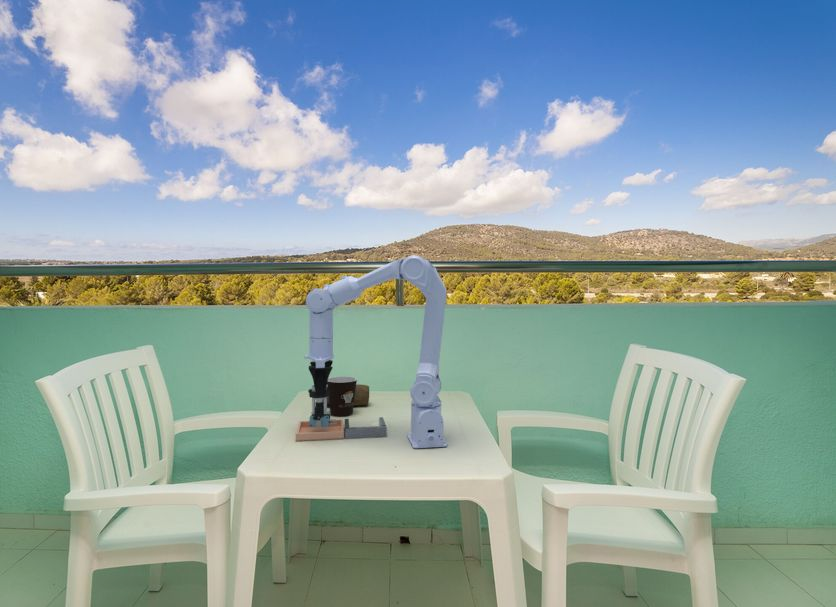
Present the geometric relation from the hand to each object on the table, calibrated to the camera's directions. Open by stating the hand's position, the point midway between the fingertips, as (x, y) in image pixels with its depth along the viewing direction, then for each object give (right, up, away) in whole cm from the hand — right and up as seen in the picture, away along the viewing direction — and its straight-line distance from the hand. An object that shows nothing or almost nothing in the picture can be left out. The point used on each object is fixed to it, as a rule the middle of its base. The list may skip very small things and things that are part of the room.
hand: (320, 392), depth 111 cm
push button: (0, -9, 0) cm, 9 cm away
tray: (0, -10, 0) cm, 10 cm away
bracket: (+11, -11, +2) cm, 15 cm away
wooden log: (+2, -10, +27) cm, 29 cm away
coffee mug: (+1, -10, +18) cm, 20 cm away
